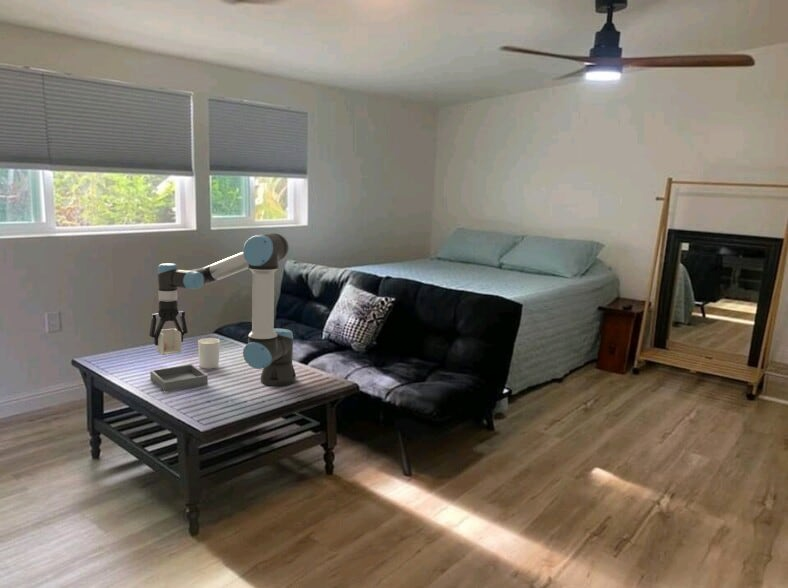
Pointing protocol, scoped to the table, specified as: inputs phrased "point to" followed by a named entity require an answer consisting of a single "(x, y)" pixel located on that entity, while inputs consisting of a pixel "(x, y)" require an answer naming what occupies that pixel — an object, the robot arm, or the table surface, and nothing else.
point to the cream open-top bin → (170, 341)
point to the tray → (178, 377)
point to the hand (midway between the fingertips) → (169, 350)
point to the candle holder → (209, 352)
